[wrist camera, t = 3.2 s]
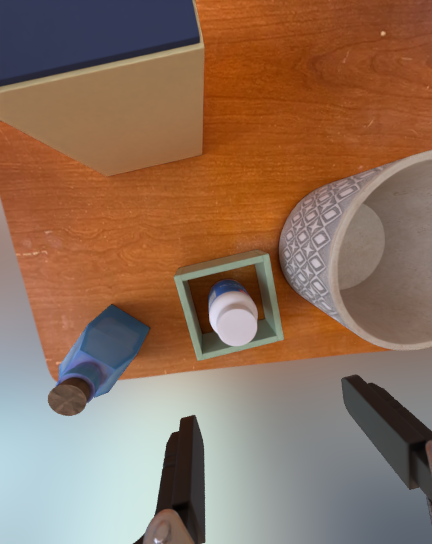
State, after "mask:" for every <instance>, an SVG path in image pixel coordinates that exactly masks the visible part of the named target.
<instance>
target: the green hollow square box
mask: <svg viewBox="0 0 432 544" xmlns="http://www.w3.org/2000/svg"><path fill="white" fill-rule="evenodd" d="M252 264H255V268H256V273H257V278H258V283H259V289H260V294H261V299H262V304H263V309H264V315H265V319H262V320H258V321H257V332H256V334H255V336H254V338H253V339H252V340H251V341H250V342H249V343H247V344H245V345H242V346H231V345H228V344H226V343H224V342H223V341H222V340H221V339H220V337H219V335H218V333H216V332H215V331H214V332H210V333H206V334H202V332H201V328H200V325H199V321H198V317H197V313H196V310H195V306H194V302H193V299H192V295H191V291H190V287H189V284H188V280H190V279H194V278H198V277H202V276H207V275H211V274H215V273H219V272H223V271H227V270H231V269H236V268H240V267H244V266H248V265H252ZM174 279H175V283H176V286H177V290H178V293H179V297H180V301H181V304H182V308H183V311H184V315H185V318H186V322H187V325H188V329H189V332H190V336H191V339H192V343H193V346H194V350H195V353H196V357H197V361H200V360H204V359H208V358H212V357H216V356H220V355H224V354H228V353H232V352H236V351H240V350H244V349H248V348H252V347H256V346H260V345H264V344H269V343H273V342H277V341H280V340H284V336H283V331H282V325H281V319H280V314H279V308H278V302H277V297H276V291H275V285H274V280H273V274H272V268H271V263H270V257H269V254H268V253H266V252H263V251H261V250H258V249H256V250H253V251H248V252H244V253H239V254H235V255H231V256H227V257H223V258H219V259H214V260H210V261H206V262H202V263H198V264H194V265H189V266H185V267H181V268H178V270H177V272H176V274H175V275H174Z"/></svg>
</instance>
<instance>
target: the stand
mask: <svg viewBox="0 0 432 544" xmlns="http://www.w3.org/2000/svg"><path fill="white" fill-rule="evenodd" d="M193 5H194V10H195V15H196V20H197V25H198V30H199V35H200V43H197V44H192V45H188V46H183V47H179V48H174V49H170V50H165V51H160V52H156V53H151V54H147V55H142V56H138V57H133V58H129V59H124V60H119V61H115V62H110V63H106V64H101V65H97V66H92V67H87V68H83V69H78V70H74V71H69V72H65V73H60V74H55V75H51V76H46V77H42V78H37V79H33V80H28V81H24V82H19V83H14V84H10V85H5V86H1V87H0V120H1V121H3V122H5V123H6V124H8V125H10V126H12V127H14V128H16V129H18V130H20V131H21V132H23V133H25V134H27V135H29V136H31V137H33V138H35V139H37V140H38V141H40V142H42V143H44V144H46V145H48V146H50V147H52V148H53V149H55V150H57V151H59V152H61V153H63V154H65V155H67V156H69V157H70V158H72V159H74V160H76V161H78V162H80V163H82V164H84V165H85V166H87V167H89V168H91V169H93V170H95V171H97V172H99V173H100V174H102V175H104V176H106V177H107V176H112V175H116V174H120V173H125V172H129V171H134V170H138V169H142V168H147V167H151V166H155V165H160V164H164V163H168V162H173V161H177V160H181V159H186V158H190V157H194V156H199V155H202V147H203V100H204V52H205V46H204V41H203V36H202V31H201V26H200V21H199V16H198V11H197V6H196V1H195V0H193Z"/></svg>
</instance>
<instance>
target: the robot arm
mask: <svg viewBox="0 0 432 544" xmlns="http://www.w3.org/2000/svg"><path fill="white" fill-rule="evenodd" d="M341 381H342V390H343V399H344V404H345V406H346V409H347V410H348V412H349V414H350V415H351V416H352V418H353V419H354V420H355V421H356V423H357V424H358V425H359V426H360V427H361V429H362V430H363V431H364V433H365V434H366V435H367V437H368V438H369V439H370V440H371V441H372V443H373V444H374V445H375V447H376V448H377V449H378V451H379V452H380V453H381V454H382V455H383V457H384V458H385V459H386V461H387V462H388V463H389V464H390V466H391V467H392V468H393V469H394V471H395V472H396V473H397V474H398V476H399V477H400V478H401V480H402V481H403V482H404V483H405V485H406V486H407V487H408V488H409V490H411V489H415V488H419V487H420V488H421V490H422V491H423V492H424V493H425V494H426V499H427V505H428V509H429V513H430V519H431V523H432V431H431V430H430V429H428V428H427V427H426V426H425V425H424V424H423V423H422V422H420V421H419V420H418V419H417V418H416V417H415V416H414V415H413V414H412V413H411V412H409V411H408V410H407V409H406V408H405V407H403V406H402V405H401V404H400V403H399V402H398V401H397V400H395V399H394V397H392V396H391V395H390V394H389V393H388V392H387V391H386V390H385V389H383V388H381V387H379V386H377V385H375V384H373V383H368V384H367V383H366V382H365V381H364V380H363V379H362V378H361V377H360V376H358V375H352V376H348V377H344V378H342V379H341ZM204 478H205V477H204V445H203V439H202V435H201V432H200V429H199V425H198V422H197V419H196V416H195V415H192V416H189V417H184V418H181V420H180V427H179V431H178V432H174V433H172V434H171V436H170V438H169V440H168V442H167V444H166V451H165V458H164V463H163V469H162V476H161V482H160V489H159V494H158V502H157V507H156V512H155V515H154V518H153V519H152V520H151V522H150V524H149V525H148V527H147V529H146V532H145V533H144V535H143V536H142V537H141V538H140V539H139V540H137V541H136V542H135V543H133V544H202V543H205V480H204Z"/></svg>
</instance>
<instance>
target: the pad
mask: <svg viewBox="0 0 432 544" xmlns="http://www.w3.org/2000/svg"><path fill="white" fill-rule="evenodd" d="M197 43H200V35H199V30H198V25H197V20H196V15H195V10H194V5H193V0H0V87H1V86H5V85H10V84H14V83H19V82H24V81H28V80H33V79H37V78H42V77H46V76H51V75H55V74H60V73H65V72H69V71H74V70H78V69H83V68H87V67H92V66H97V65H101V64H106V63H110V62H115V61H119V60H124V59H129V58H133V57H138V56H142V55H147V54H151V53H156V52H160V51H165V50H170V49H174V48H179V47H183V46H188V45H192V44H197Z"/></svg>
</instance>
